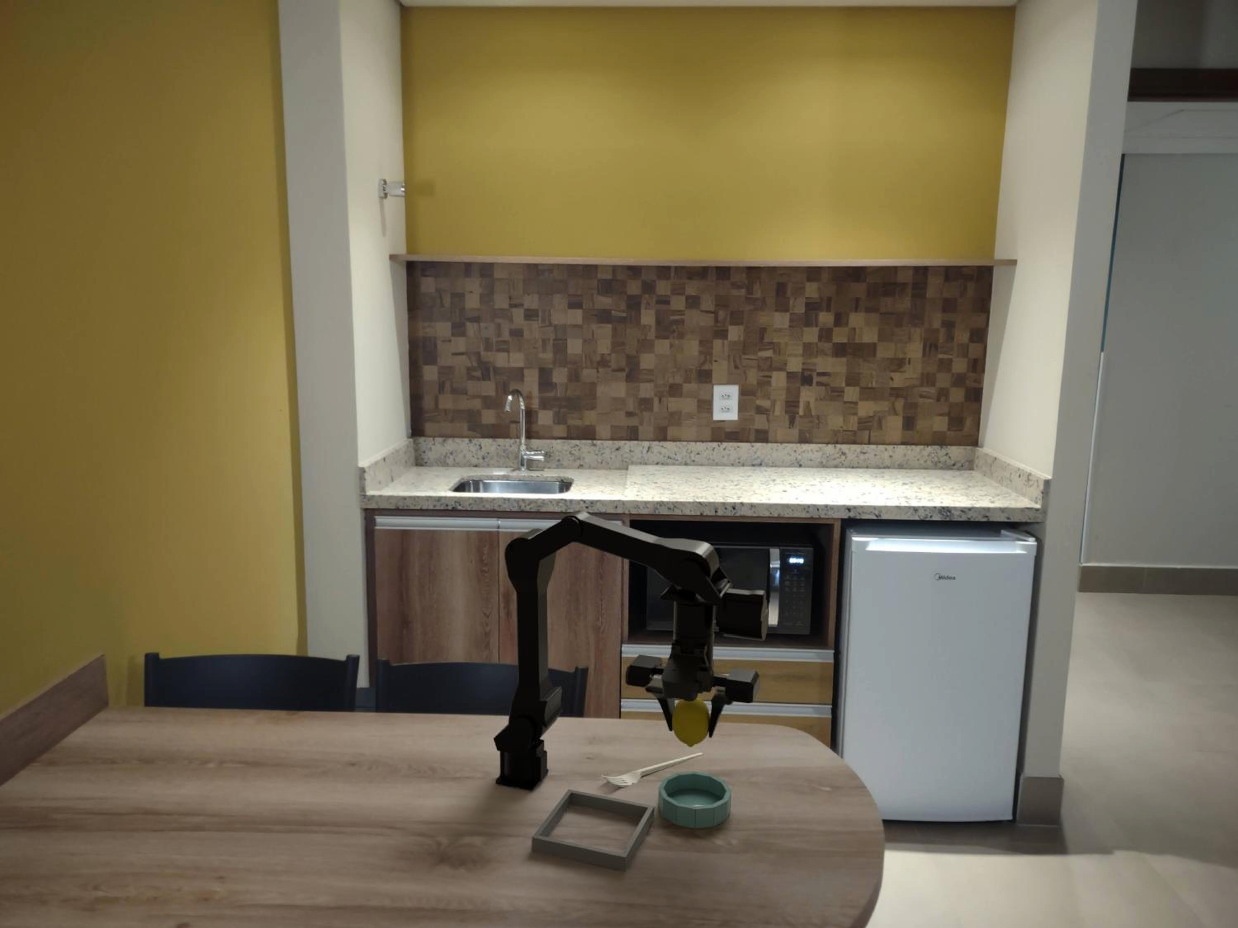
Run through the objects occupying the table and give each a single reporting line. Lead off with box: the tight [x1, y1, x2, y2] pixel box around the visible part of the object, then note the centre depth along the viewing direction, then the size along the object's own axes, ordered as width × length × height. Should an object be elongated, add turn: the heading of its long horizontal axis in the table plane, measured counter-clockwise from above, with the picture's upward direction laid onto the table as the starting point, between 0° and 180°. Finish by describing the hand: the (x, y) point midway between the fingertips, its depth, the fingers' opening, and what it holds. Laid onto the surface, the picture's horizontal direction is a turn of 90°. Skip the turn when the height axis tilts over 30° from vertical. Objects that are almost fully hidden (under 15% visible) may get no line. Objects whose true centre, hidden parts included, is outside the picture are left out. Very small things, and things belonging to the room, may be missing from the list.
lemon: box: [672, 696, 711, 748], centre depth 134 cm, size 6×6×8 cm
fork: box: [600, 752, 704, 788], centre depth 148 cm, size 3×20×2 cm, turn 126°
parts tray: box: [531, 789, 655, 872], centre depth 130 cm, size 13×13×2 cm
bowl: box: [657, 771, 732, 829], centre depth 137 cm, size 10×10×3 cm
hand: (691, 733), depth 134 cm, fingers closed on lemon, 5 cm apart
